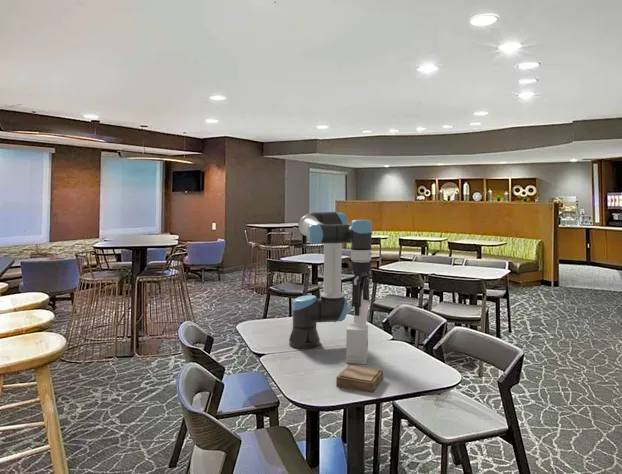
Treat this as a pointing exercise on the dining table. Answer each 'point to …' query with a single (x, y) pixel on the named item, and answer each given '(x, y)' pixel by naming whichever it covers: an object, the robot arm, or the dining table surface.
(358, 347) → the supplement box
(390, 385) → the dining table surface
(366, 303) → the smoothie
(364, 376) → the walnut tray
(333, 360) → the dining table surface
